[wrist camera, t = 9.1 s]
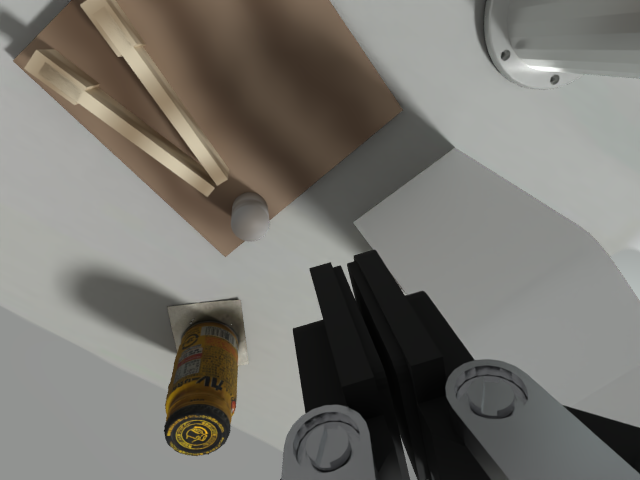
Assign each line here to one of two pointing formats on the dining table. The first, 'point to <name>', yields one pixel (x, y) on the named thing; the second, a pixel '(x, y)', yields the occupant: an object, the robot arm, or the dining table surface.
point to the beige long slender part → (144, 137)
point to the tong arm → (153, 81)
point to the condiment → (204, 375)
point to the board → (232, 95)
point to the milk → (515, 282)
